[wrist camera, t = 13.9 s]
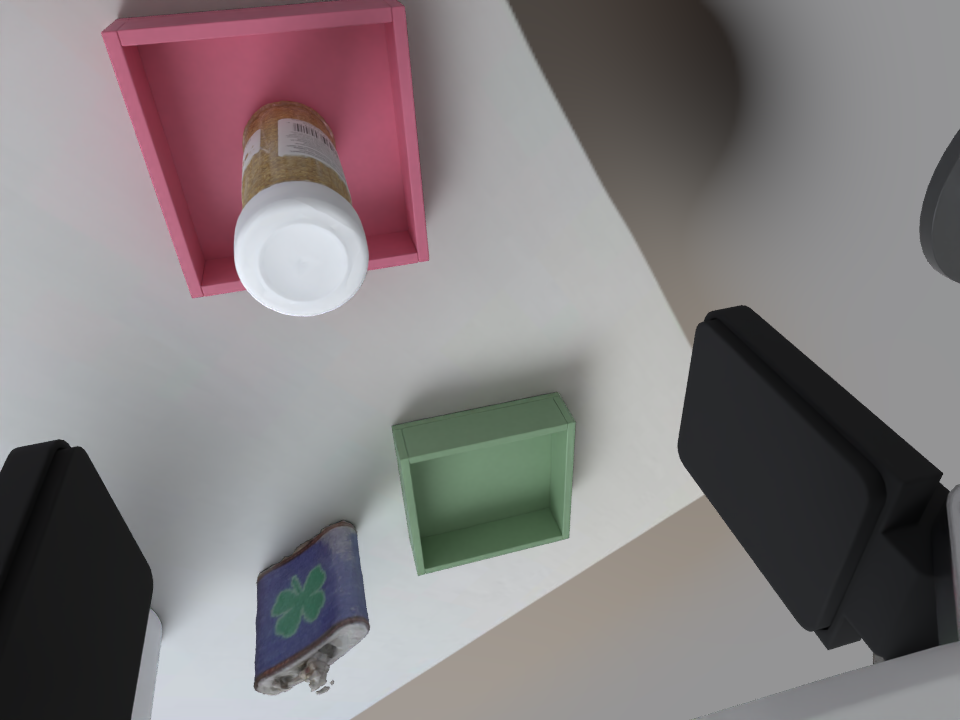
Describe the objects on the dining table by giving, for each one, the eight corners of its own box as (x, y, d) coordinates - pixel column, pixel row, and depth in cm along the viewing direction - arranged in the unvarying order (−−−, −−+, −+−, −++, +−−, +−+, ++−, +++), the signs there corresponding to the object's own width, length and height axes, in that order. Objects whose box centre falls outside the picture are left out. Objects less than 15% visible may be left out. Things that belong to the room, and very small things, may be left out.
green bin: (558, 391, 48) (576, 421, 45) (554, 506, 55) (569, 538, 52) (391, 425, 46) (399, 459, 43) (409, 540, 53) (418, 576, 50)
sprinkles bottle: (222, 133, 32) (201, 252, 21) (297, 78, 32) (315, 171, 21) (284, 206, 35) (294, 343, 24) (355, 156, 34) (396, 274, 24)
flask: (341, 514, 49) (358, 643, 41) (366, 532, 51) (387, 659, 43) (247, 579, 51) (244, 717, 42) (275, 594, 52) (277, 730, 44)
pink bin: (392, -5, 31) (405, 5, 28) (417, 234, 38) (429, 261, 36) (115, 18, 29) (100, 31, 26) (197, 268, 36) (191, 299, 33)
